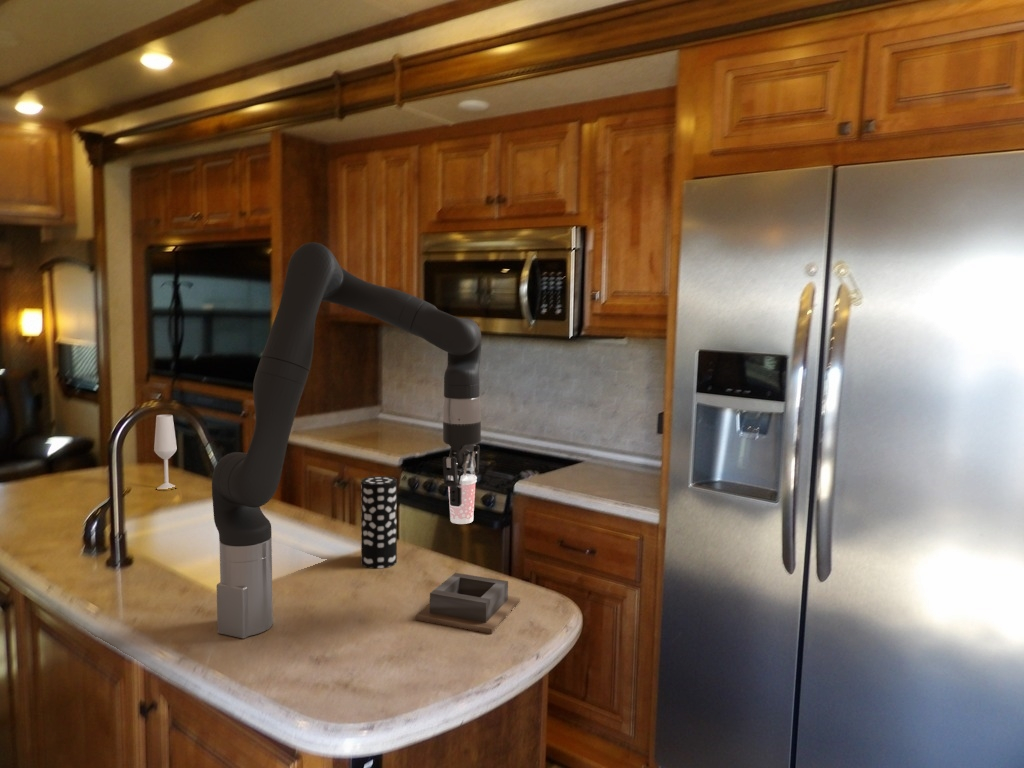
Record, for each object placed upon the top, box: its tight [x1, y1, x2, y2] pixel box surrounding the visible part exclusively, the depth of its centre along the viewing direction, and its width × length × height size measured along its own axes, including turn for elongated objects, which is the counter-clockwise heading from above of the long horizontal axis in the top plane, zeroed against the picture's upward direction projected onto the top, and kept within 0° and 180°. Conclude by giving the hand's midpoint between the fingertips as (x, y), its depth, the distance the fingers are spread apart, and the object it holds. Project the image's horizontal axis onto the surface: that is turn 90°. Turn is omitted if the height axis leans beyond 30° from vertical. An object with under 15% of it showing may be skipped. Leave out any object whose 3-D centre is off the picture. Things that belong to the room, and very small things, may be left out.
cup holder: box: [415, 572, 521, 635], centre depth 147 cm, size 16×16×5 cm
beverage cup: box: [447, 474, 478, 525], centre depth 146 cm, size 6×6×14 cm
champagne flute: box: [153, 414, 178, 489], centre depth 236 cm, size 7×7×24 cm
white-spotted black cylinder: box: [360, 475, 398, 569], centre depth 173 cm, size 8×8×20 cm
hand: (462, 500), depth 147 cm, fingers closed on beverage cup, 6 cm apart
